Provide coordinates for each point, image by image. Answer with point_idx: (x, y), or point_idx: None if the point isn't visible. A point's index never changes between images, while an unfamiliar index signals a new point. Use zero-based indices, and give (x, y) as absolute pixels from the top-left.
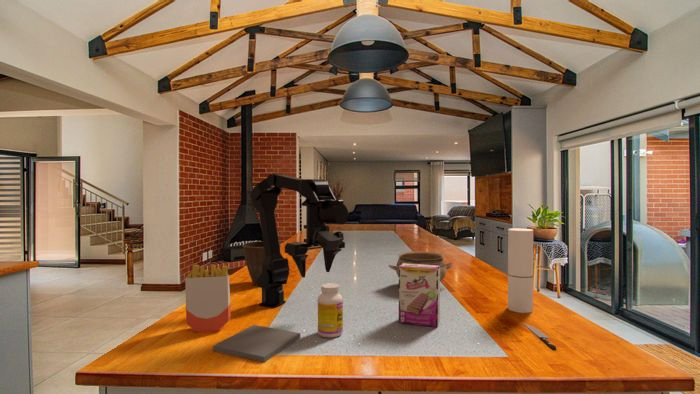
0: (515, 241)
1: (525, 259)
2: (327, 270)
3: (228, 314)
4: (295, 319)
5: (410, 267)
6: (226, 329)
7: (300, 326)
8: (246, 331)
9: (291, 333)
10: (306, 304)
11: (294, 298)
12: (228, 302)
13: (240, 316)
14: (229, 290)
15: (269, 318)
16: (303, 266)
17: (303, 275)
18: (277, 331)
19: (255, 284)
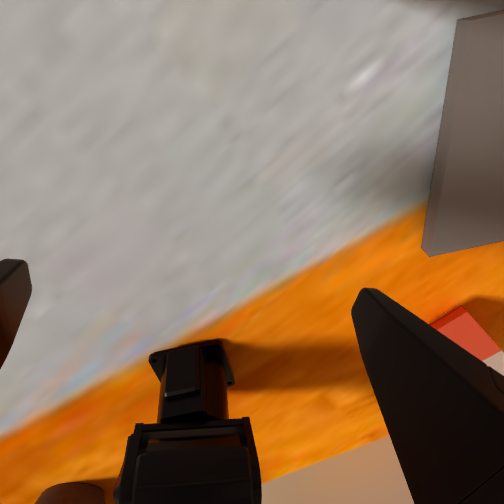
0: None
1: None
2: (19, 285)
3: (477, 330)
4: (271, 205)
5: None
6: (444, 300)
7: (331, 127)
8: (493, 228)
9: (484, 60)
10: (101, 294)
11: (90, 365)
12: (501, 367)
13: (338, 347)
14: None
15: (312, 281)
16: (486, 370)
17: (391, 301)
18: (473, 135)
19: (103, 494)
